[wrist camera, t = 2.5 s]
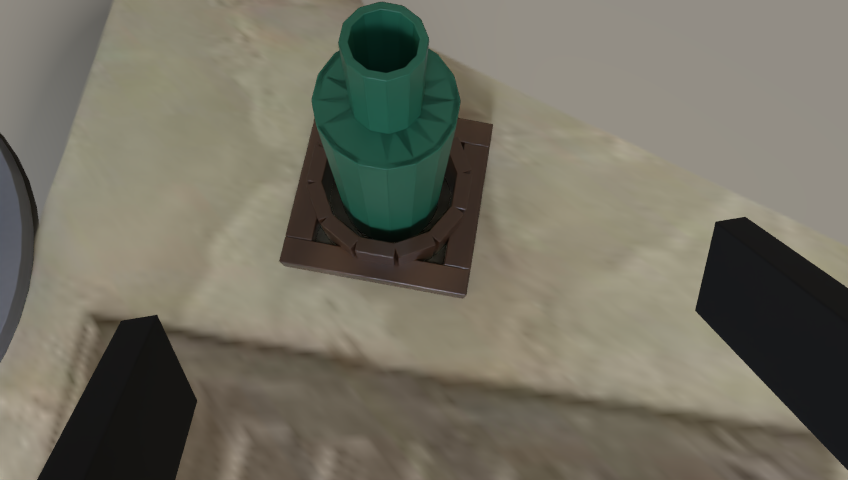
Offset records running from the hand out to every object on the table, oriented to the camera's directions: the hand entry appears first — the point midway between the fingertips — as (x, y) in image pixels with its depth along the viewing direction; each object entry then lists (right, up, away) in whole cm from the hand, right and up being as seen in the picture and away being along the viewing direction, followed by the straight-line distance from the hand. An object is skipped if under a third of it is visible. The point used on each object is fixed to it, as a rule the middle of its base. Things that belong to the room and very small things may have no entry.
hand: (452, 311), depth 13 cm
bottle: (-3, +5, +25) cm, 26 cm away
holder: (-3, +5, +25) cm, 26 cm away
